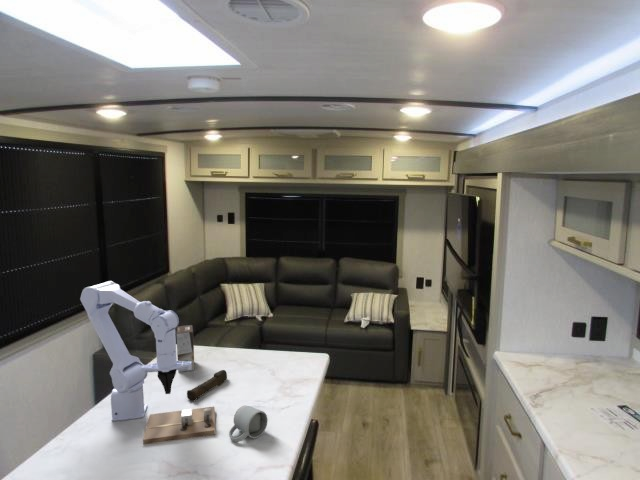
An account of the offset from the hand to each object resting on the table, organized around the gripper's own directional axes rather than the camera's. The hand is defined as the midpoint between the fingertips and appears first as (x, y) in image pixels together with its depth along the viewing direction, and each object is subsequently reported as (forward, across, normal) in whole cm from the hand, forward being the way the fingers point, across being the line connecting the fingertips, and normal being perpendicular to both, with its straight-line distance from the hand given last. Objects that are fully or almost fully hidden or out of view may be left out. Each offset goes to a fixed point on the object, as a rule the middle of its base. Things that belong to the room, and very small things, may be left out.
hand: (168, 392), depth 135 cm
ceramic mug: (+10, +24, -13) cm, 29 cm away
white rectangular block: (+8, +6, -6) cm, 11 cm away
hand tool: (+10, +11, +19) cm, 24 cm away
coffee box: (+10, +2, +40) cm, 42 cm away
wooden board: (+9, +4, -4) cm, 11 cm away
